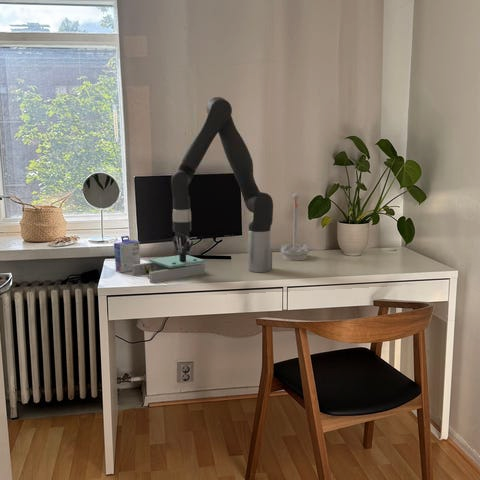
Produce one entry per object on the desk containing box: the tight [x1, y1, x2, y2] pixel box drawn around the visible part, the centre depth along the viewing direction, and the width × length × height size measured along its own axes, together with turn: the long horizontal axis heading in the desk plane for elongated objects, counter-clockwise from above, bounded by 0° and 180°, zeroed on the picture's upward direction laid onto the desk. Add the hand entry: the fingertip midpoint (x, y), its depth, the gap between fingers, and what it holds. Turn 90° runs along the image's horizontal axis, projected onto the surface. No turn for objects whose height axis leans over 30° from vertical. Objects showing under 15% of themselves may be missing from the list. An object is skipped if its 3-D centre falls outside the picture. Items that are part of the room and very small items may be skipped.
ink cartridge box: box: [113, 235, 141, 273], centre depth 265 cm, size 10×6×14 cm, turn 131°
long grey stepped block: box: [131, 261, 206, 284], centre depth 258 cm, size 25×17×4 cm
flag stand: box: [280, 192, 310, 261], centre depth 285 cm, size 13×13×30 cm
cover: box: [148, 254, 206, 268], centre depth 259 cm, size 17×17×1 cm
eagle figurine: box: [140, 263, 155, 280], centre depth 251 cm, size 8×7×9 cm
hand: (182, 261), depth 256 cm, fingers closed
